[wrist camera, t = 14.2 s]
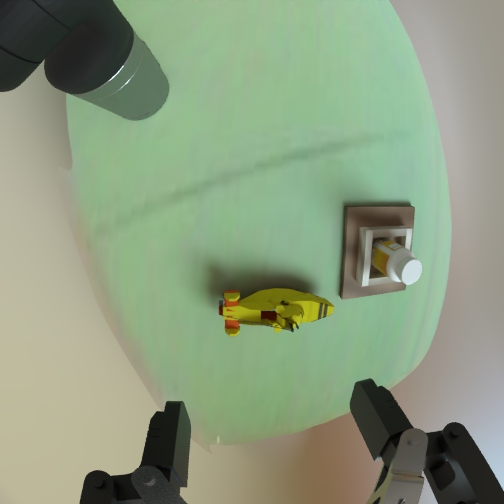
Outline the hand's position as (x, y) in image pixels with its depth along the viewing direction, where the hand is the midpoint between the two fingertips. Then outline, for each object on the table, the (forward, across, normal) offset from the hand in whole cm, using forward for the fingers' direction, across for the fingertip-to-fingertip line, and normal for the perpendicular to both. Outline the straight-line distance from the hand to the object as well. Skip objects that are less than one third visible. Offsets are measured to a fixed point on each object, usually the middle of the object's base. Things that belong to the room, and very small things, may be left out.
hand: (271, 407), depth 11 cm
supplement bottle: (+31, -24, +4) cm, 40 cm away
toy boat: (+32, -5, +11) cm, 35 cm away
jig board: (+32, -24, +4) cm, 40 cm away
